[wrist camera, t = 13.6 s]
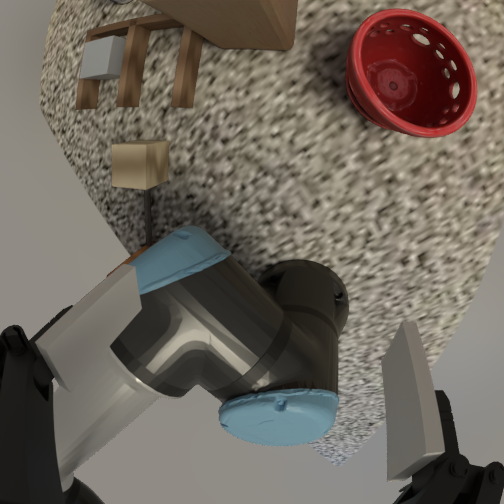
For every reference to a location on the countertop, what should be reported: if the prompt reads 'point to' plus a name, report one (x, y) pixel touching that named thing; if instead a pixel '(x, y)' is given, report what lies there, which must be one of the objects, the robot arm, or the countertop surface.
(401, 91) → the plant pot
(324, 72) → the countertop surface
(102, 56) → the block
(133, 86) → the lane rack
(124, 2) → the energy drink
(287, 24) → the wooden block
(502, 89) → the countertop surface
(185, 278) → the robot arm
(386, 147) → the countertop surface
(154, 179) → the corded block
